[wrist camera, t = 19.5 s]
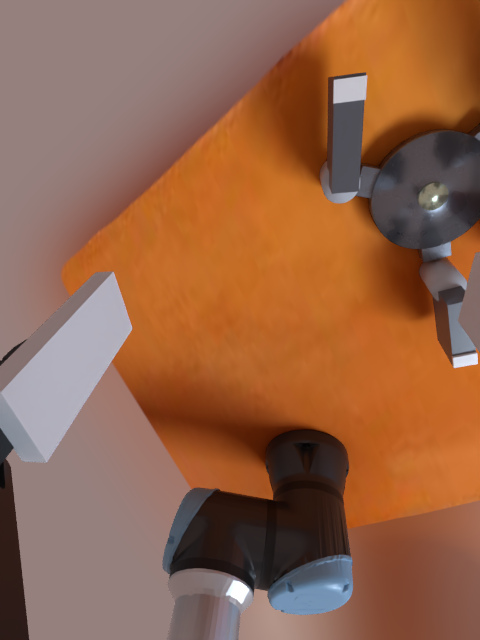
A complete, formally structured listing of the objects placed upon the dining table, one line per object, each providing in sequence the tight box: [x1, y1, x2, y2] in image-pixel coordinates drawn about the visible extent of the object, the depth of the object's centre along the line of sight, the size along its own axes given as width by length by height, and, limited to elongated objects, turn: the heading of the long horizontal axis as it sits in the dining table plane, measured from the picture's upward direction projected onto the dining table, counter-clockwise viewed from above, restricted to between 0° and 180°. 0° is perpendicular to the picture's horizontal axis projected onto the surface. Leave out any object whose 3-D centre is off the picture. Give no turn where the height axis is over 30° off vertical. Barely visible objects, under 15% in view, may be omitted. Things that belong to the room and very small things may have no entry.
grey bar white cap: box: [319, 72, 367, 203], centre depth 34 cm, size 11×4×8 cm, turn 7°
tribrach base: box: [355, 124, 480, 263], centre depth 38 cm, size 14×15×3 cm
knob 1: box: [419, 257, 478, 368], centre depth 42 cm, size 11×4×8 cm, turn 22°
